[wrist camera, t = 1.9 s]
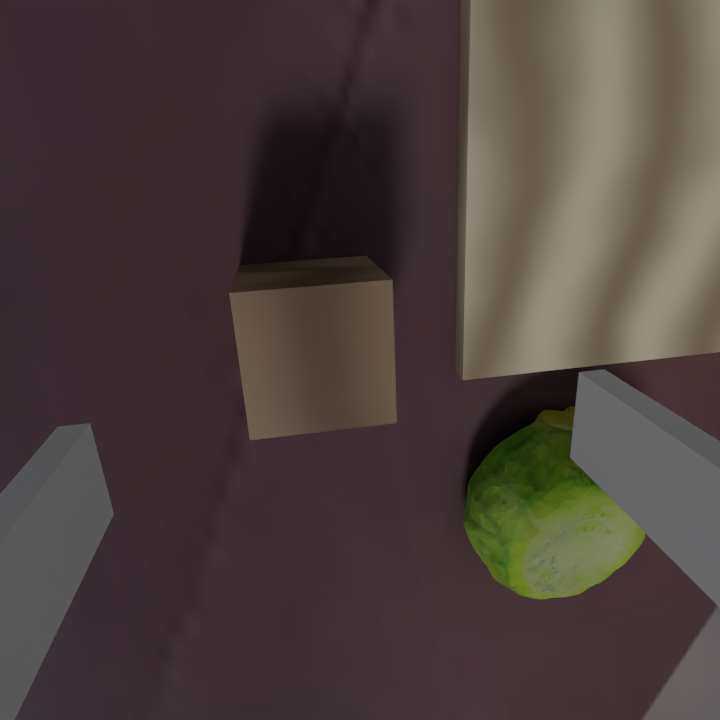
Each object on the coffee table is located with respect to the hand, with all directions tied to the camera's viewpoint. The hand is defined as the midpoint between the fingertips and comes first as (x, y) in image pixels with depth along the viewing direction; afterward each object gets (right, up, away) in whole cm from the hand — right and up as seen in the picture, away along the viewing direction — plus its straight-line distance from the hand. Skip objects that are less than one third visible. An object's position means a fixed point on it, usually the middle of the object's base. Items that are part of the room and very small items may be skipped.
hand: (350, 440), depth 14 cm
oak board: (+13, +10, +12) cm, 21 cm away
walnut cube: (-2, +4, +12) cm, 13 cm away
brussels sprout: (+11, -6, +18) cm, 22 cm away
